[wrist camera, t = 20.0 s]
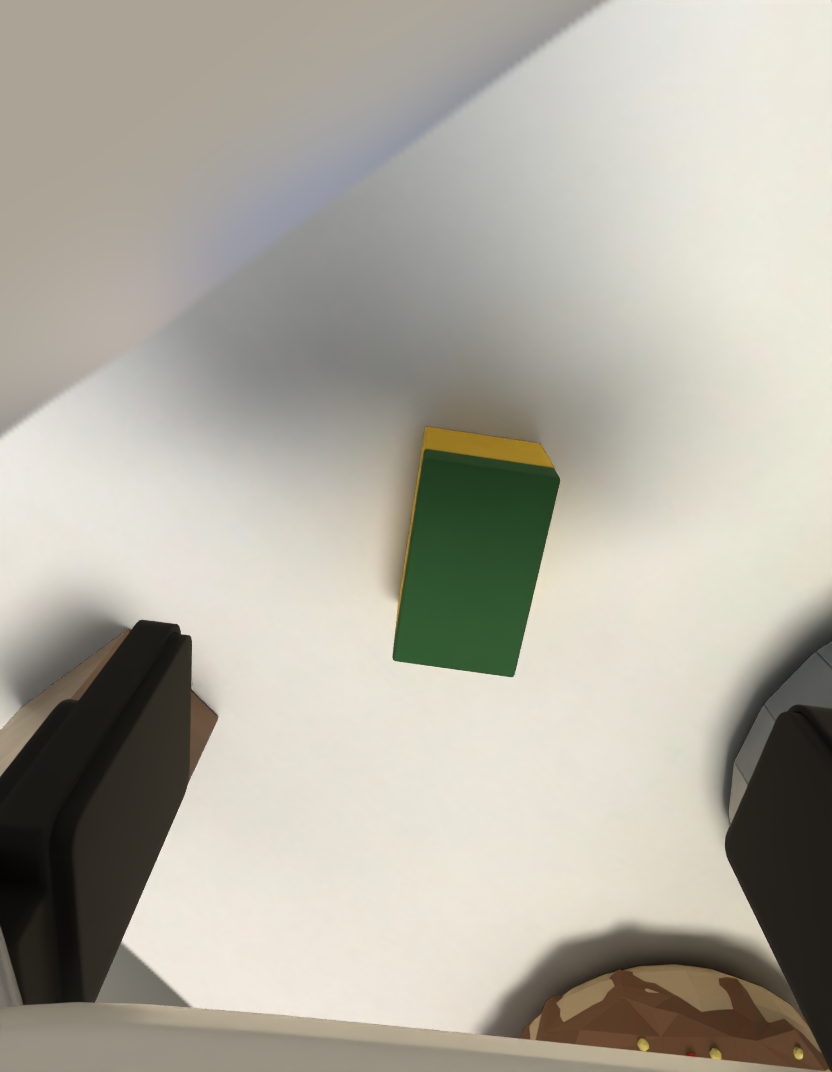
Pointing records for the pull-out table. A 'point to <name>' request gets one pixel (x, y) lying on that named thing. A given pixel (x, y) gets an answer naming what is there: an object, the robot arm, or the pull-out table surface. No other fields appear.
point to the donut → (680, 1017)
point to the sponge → (473, 551)
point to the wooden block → (22, 726)
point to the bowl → (814, 683)
